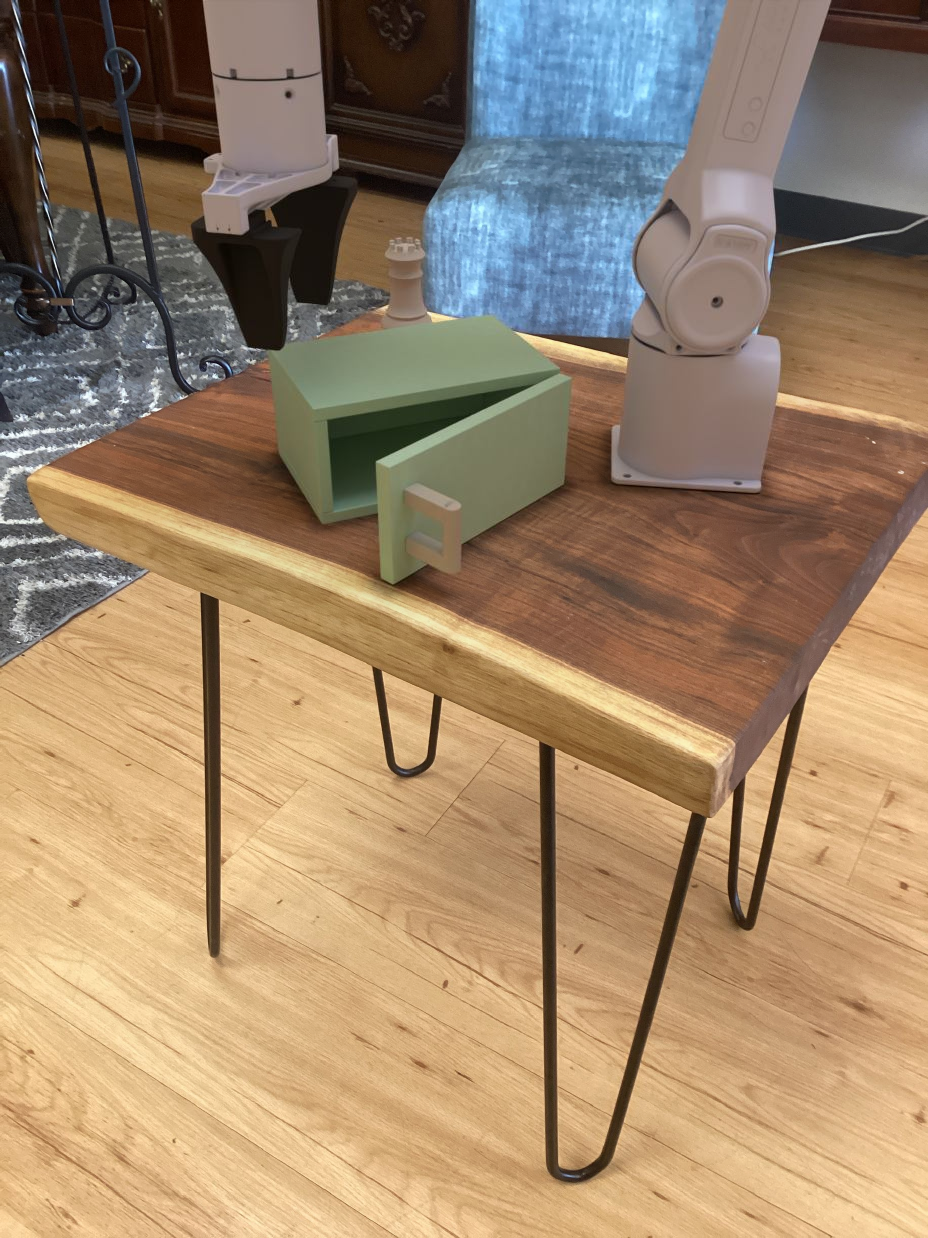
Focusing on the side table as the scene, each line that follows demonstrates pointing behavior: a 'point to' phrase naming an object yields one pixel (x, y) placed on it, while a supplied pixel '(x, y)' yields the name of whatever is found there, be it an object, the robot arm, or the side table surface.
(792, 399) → the side table surface
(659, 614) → the side table surface
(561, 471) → the door
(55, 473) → the side table surface
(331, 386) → the cabinet
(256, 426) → the side table surface
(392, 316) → the rook chess piece
